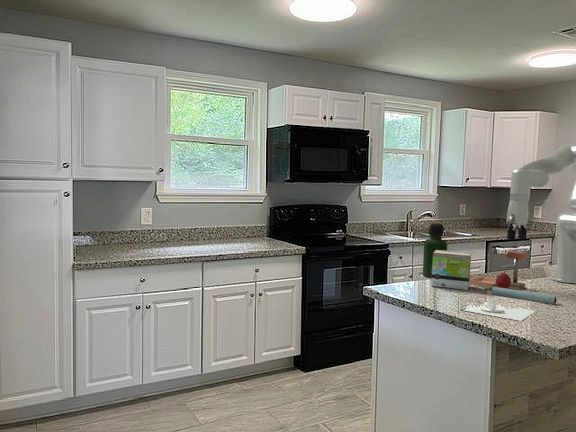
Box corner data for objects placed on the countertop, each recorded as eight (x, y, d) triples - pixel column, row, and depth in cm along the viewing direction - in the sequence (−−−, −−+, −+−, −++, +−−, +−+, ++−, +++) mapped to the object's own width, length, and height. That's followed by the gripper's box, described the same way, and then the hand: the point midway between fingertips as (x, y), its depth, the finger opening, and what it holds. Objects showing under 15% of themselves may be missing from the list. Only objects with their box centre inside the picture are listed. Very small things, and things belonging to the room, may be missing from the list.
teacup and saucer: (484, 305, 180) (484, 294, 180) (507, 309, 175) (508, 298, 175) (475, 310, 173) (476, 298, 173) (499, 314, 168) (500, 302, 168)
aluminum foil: (556, 304, 186) (556, 295, 185) (552, 307, 181) (552, 298, 180) (493, 294, 200) (494, 285, 200) (488, 297, 195) (488, 288, 195)
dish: (480, 281, 226) (481, 276, 225) (506, 285, 216) (506, 280, 216) (466, 283, 218) (466, 279, 218) (492, 288, 209) (492, 283, 209)
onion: (512, 292, 203) (513, 272, 202) (497, 291, 204) (498, 271, 203) (508, 289, 209) (509, 270, 208) (494, 288, 210) (495, 269, 209)
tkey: (507, 280, 216) (509, 251, 215) (524, 283, 210) (525, 253, 209) (492, 284, 207) (493, 253, 206) (508, 287, 202) (510, 255, 201)
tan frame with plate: (506, 284, 219) (506, 280, 218) (530, 289, 210) (530, 284, 210) (484, 289, 207) (484, 284, 207) (509, 294, 199) (509, 289, 199)
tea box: (430, 286, 210) (432, 252, 209) (433, 282, 219) (434, 249, 218) (468, 290, 204) (470, 254, 203) (469, 286, 213) (471, 251, 212)
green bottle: (448, 279, 227) (451, 225, 225) (425, 279, 227) (428, 224, 225) (442, 275, 237) (444, 223, 235) (420, 274, 237) (422, 222, 236)
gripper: (520, 198, 218) (517, 237, 219) (500, 197, 207) (497, 238, 208) (537, 199, 213) (534, 239, 214) (518, 198, 202) (515, 240, 203)
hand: (516, 239), depth 211 cm, fingers open, 9 cm apart
